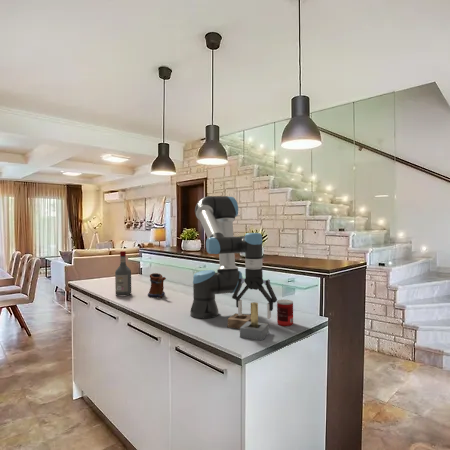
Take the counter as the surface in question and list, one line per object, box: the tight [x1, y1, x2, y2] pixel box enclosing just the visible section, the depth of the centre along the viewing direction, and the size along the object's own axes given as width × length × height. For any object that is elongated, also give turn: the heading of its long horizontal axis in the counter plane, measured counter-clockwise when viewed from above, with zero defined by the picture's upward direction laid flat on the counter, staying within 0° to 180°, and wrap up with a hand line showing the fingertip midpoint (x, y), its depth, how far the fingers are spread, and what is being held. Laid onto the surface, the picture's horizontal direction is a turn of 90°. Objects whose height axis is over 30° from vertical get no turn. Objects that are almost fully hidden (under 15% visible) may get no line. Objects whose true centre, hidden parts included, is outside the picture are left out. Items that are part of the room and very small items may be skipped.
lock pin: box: [250, 301, 259, 328], centre depth 143 cm, size 3×3×14 cm
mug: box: [147, 272, 167, 299], centre depth 218 cm, size 18×12×15 cm, turn 37°
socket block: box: [239, 321, 270, 341], centre depth 143 cm, size 10×10×4 cm
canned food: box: [276, 299, 294, 327], centre depth 158 cm, size 8×8×11 cm
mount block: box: [227, 312, 251, 330], centre depth 156 cm, size 10×10×4 cm
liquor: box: [114, 250, 132, 296], centre depth 226 cm, size 9×9×30 cm
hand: (254, 316), depth 143 cm, fingers open, 13 cm apart
